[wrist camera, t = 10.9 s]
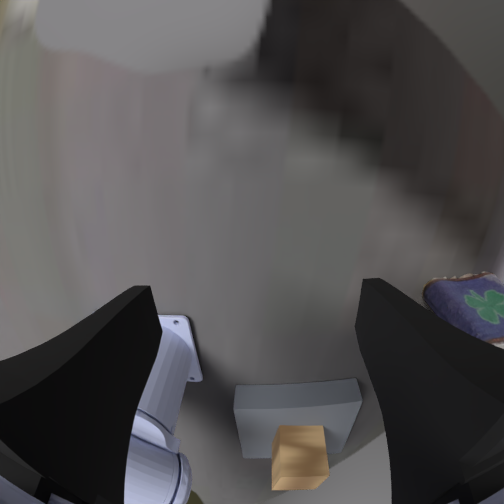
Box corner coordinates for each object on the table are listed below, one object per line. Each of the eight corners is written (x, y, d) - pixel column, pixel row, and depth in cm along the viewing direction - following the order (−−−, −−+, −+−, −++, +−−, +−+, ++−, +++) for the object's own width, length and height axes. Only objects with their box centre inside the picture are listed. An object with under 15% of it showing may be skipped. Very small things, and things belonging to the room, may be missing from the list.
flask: (495, 269, 20) (560, 335, 10) (487, 295, 21) (544, 364, 12) (424, 276, 21) (492, 367, 11) (416, 306, 22) (472, 398, 12)
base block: (244, 438, 31) (243, 458, 29) (235, 385, 26) (233, 409, 24) (337, 433, 31) (340, 452, 28) (356, 377, 26) (362, 400, 23)
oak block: (271, 443, 27) (271, 490, 21) (279, 425, 25) (280, 477, 19) (311, 444, 27) (315, 489, 21) (322, 425, 25) (329, 475, 19)
